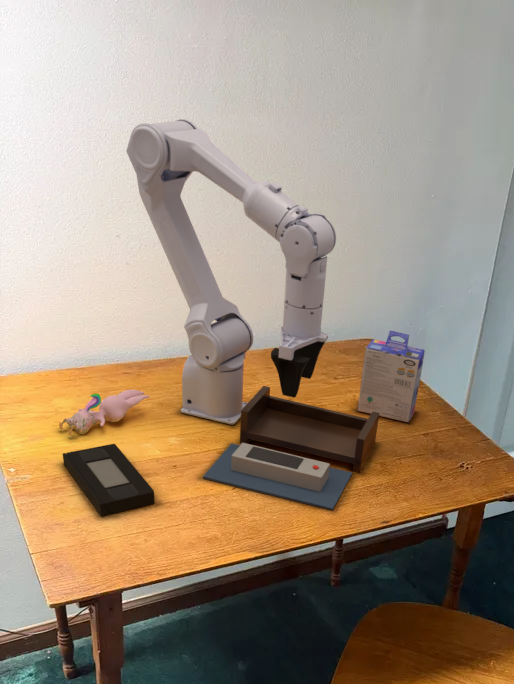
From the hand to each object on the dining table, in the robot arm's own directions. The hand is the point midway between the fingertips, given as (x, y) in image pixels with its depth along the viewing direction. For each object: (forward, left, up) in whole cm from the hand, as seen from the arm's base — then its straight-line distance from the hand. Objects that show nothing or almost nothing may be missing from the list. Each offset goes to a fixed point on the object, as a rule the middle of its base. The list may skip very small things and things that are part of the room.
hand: (297, 385), depth 124 cm
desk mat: (+2, -12, -9) cm, 16 cm away
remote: (+2, -12, -9) cm, 15 cm away
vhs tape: (-19, -25, -10) cm, 33 cm away
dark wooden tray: (+3, -1, -9) cm, 10 cm away
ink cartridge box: (+12, +17, -10) cm, 23 cm away
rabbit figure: (-28, -9, -10) cm, 31 cm away
